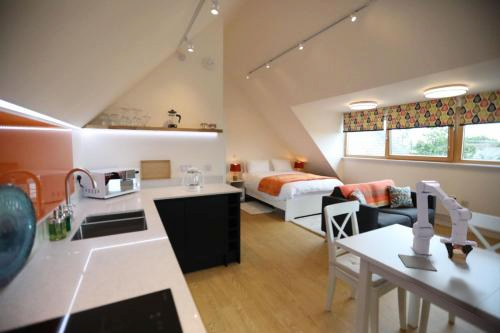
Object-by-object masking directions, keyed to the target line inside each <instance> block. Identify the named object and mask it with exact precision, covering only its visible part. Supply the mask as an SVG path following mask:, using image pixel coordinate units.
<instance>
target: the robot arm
mask: <svg viewBox="0 0 500 333" xmlns="http://www.w3.org/2000/svg"><path fill="white" fill-rule="evenodd" d="M415 194H416V211H417V212H416V213H417V221H416V222H414V223H413V224H412V229H411V231H412V232H411V233H412V235H413V238H412V245H411V246H410V247H411V249H412V250H413V251H414V252H415V254H419V255H427V256H432V255H433V254H432V252H430V243H431V242H430V241H431V239H432V238H433V237H434V236H435V229H434V228H433V226H434V225H432V224H431V223H430V222H429V205H428V204H429V202H428V196H430V195H431V194H434V196H436V197H437V198H438V199H439V200H440V201H442V202H441V205H442V206H443V207H444V208H445V209H446V210H447V211H448V212H449V216H450V219H451V221H450V222H451V224H452V225H451V235H450V237H449V238H448V237H447V238H445V237H444V238H441V237H440V238H439V239H440V240H439V243H441V244H444V246H445V249H446V251H447V256H449V257H450V258H452V254H453V249H454V246H453V244H458V245H462V251H463V252H464V253H465V254H466V258H467V257H468V256H469V254H470V253H471V252H472V251H473V250H474V247H475V248H476V247H478V242H476V241H473V240H467V237H468V236H467V235H468V226H469V221H470V220H472V218H473V212H472V211H471V210H470V209H469V208H466V207H464V206H462V205H460V203H458V202H457V201H456V199H455V198H453V197H449V196H448V195H447V194H446V192H444V190H443V189H442V188H441V184H440V183H439V182H438V181H437V180H418V181H417V182H416V183H415Z"/></svg>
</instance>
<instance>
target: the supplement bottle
mask: <svg viewBox="0 0 500 333" xmlns="http://www.w3.org/2000/svg"><path fill="white" fill-rule="evenodd" d="M452 245H453V246H454V249H456V250H461V251H462V245H458V244H452Z"/></svg>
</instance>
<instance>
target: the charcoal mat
mask: <svg viewBox="0 0 500 333" xmlns="http://www.w3.org/2000/svg"><path fill="white" fill-rule="evenodd" d="M397 256H398V257H399V258H400V260H401V262H402V264H403V265H404V266H405V267H406V268H409V269H419V270H425V271H431V272H437V271H438V269H436V267H435V266H434V265H433V264H432V263H431V261H430V260H429V259H428V258H427V257H424V256H418V255H410V254H400V253H398V254H397Z"/></svg>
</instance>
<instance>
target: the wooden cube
mask: <svg viewBox="0 0 500 333" xmlns="http://www.w3.org/2000/svg"><path fill="white" fill-rule="evenodd" d="M447 256H448V255H447ZM447 259H448V260H450V261H451V263H454V264H462V265H466V263H467V262H466V261H467V257H466V254H465V253H464V252H463V251H461V250H456V249H453V254H452V258H450V257H449V256H448V257H447Z"/></svg>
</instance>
